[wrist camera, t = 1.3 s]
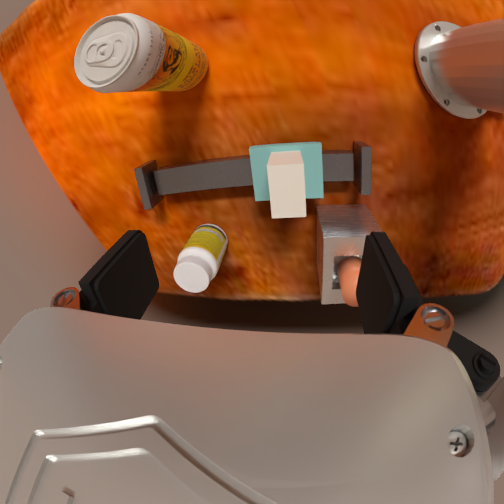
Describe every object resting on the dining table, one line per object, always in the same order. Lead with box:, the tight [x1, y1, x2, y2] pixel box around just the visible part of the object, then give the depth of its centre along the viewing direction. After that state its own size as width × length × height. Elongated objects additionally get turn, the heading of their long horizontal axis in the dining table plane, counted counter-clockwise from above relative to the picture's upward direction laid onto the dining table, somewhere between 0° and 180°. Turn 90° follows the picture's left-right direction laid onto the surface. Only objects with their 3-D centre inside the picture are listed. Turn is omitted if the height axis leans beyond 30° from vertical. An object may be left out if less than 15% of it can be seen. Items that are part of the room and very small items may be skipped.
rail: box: [134, 142, 371, 210], centre depth 28 cm, size 25×5×4 cm, turn 97°
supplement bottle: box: [174, 224, 228, 293], centre depth 31 cm, size 5×5×8 cm
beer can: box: [74, 13, 208, 93], centre depth 17 cm, size 6×6×15 cm
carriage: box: [249, 142, 323, 218], centre depth 25 cm, size 7×6×9 cm
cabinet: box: [316, 204, 383, 304], centre depth 29 cm, size 6×8×8 cm
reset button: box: [337, 256, 362, 306], centre depth 24 cm, size 3×3×4 cm
